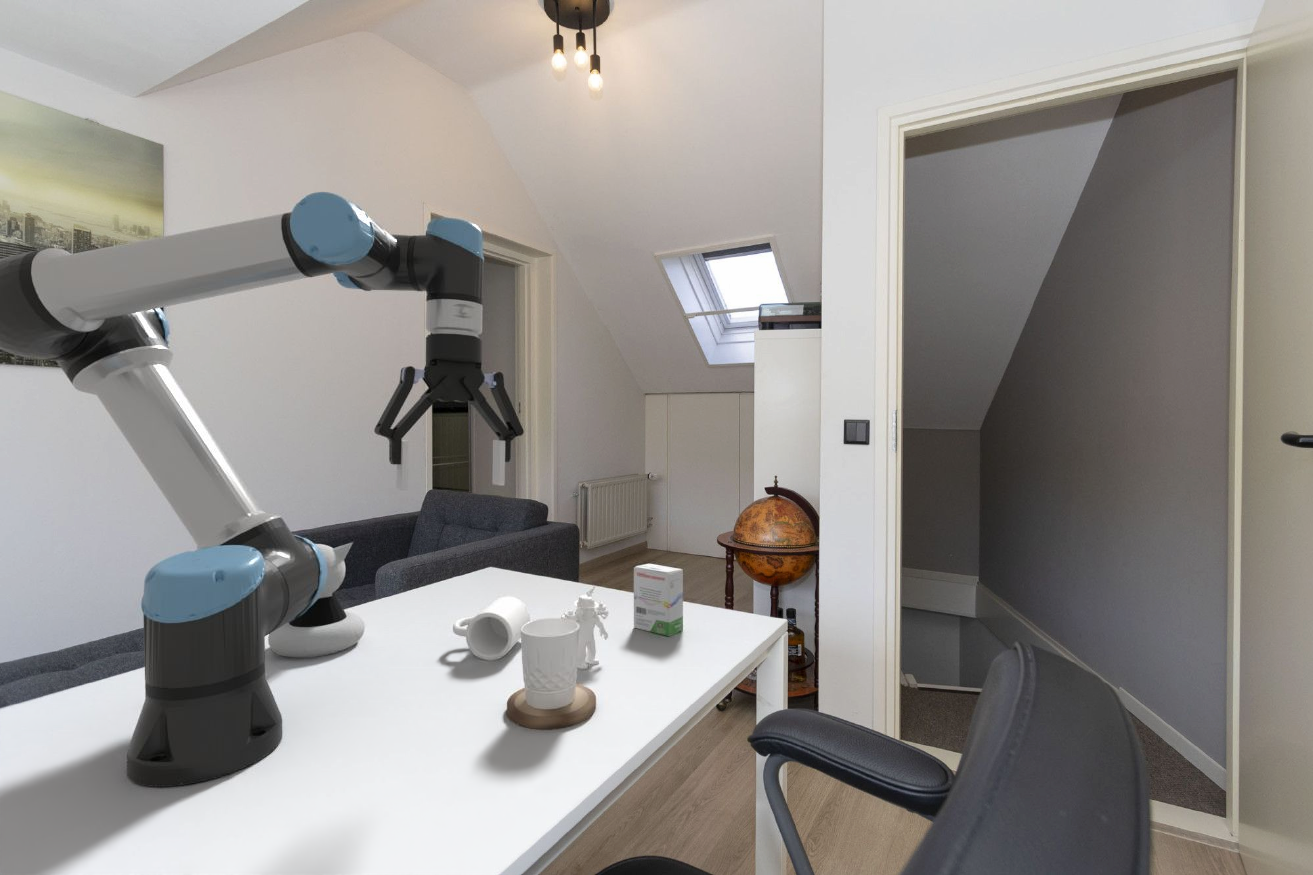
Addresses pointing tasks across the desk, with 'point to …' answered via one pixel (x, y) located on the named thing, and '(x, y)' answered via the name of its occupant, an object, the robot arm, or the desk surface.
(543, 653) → the white cup
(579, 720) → the coaster
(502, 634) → the mug
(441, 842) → the desk surface
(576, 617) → the flower shoulder figurine
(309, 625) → the decorative figurine
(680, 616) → the ink box
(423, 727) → the desk surface
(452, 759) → the desk surface
